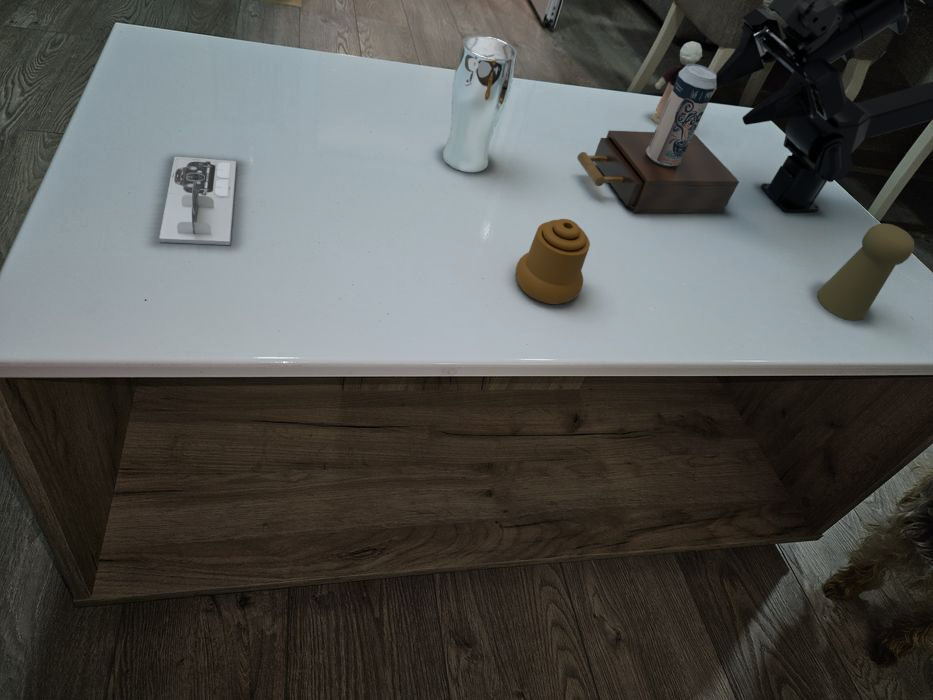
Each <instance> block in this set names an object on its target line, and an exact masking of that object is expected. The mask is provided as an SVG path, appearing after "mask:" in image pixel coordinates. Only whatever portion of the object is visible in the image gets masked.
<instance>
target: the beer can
mask: <svg viewBox="0 0 933 700" xmlns="http://www.w3.org/2000/svg"><path fill="white" fill-rule="evenodd" d="M716 86H717V83H716V72H715V71H713V70H712V69H711V68H708V67H706V66H704V65H700V64H696V63H695V64H688V65H686V66H685V67H684V68H683V69H682V70H681V71H680V72H679V75H678V78H677V80H676V83H675V85H674V87H673V90H672V92H671V94H670V97H669V99H668V101H667V104H666V106H665V108H664V111H663V113H662V116H661V118H660V120H659V123H658V124H657V125H656V127H655V129H654V131H653V132H654V134H653V137H652V139H651V141H650V144H649V146H648V148H647V150H646V153H647V155H648V156H649V157H650V159H651V160H652V161H654V162H655V163H657V164H659V165H662V166H667V167H670V166H676V165H679V164H680V163H681V160H682V158H683V155H684V153H685V151H686V149H687V147H688V145H689V143H690V141H691V138H692V136H693V134H695V132H696V131H697V128H698V126H699V124H700V121H701V119H702V117H703V115H704V113H705V110H706V108H707V106H708V104H709V102H710V100H711V98H712V96H713V93H714V91H715V89H717V88H716Z"/></svg>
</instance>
